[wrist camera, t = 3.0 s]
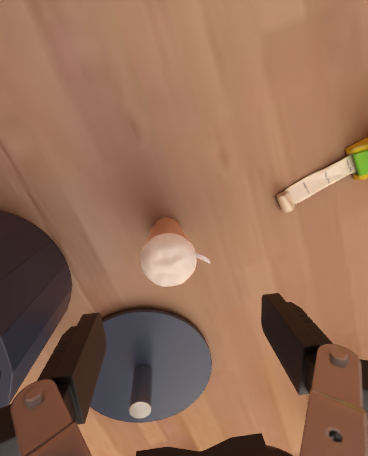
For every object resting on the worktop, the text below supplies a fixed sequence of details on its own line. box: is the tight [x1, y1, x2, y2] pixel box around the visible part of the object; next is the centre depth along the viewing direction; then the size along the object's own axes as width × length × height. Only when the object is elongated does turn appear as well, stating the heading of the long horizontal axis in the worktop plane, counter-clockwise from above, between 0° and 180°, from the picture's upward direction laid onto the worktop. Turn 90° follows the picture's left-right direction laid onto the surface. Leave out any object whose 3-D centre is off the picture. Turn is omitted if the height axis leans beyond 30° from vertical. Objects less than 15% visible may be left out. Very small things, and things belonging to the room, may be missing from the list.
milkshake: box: [140, 217, 211, 287], centre depth 23 cm, size 4×5×10 cm
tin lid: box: [90, 309, 212, 423], centre depth 30 cm, size 18×18×6 cm
